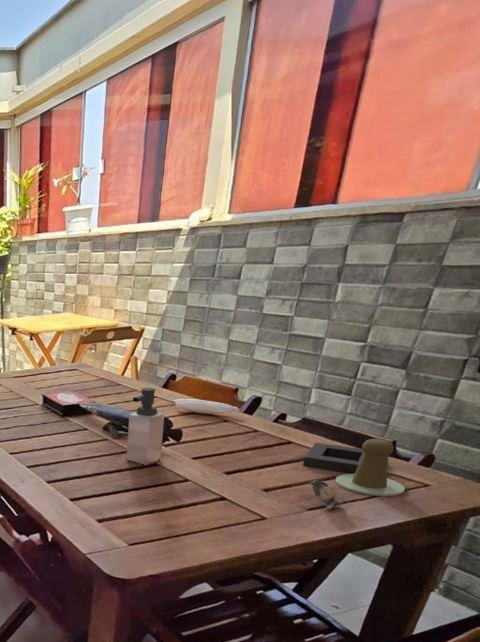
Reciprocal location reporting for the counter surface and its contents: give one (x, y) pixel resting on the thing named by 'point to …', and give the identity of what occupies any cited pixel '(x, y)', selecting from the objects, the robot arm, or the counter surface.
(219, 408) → the white tapered cylinder
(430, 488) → the counter surface
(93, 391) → the counter surface
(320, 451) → the frame
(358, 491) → the coaster
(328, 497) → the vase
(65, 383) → the counter surface
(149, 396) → the soap dispenser
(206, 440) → the counter surface
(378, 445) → the cork
